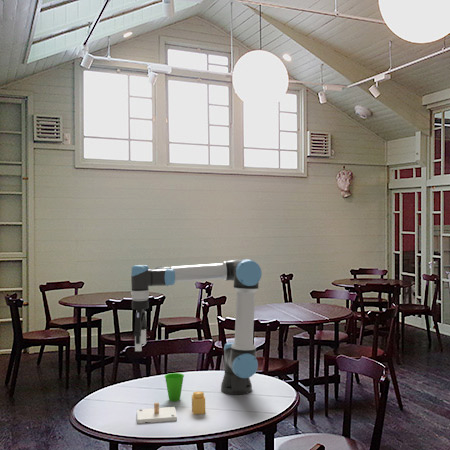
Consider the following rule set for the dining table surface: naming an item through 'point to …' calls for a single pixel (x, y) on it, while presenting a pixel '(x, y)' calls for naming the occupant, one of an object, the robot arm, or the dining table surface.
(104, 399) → the dining table surface
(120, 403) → the dining table surface
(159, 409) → the lid
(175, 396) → the cup
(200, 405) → the ball on cube
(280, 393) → the dining table surface
